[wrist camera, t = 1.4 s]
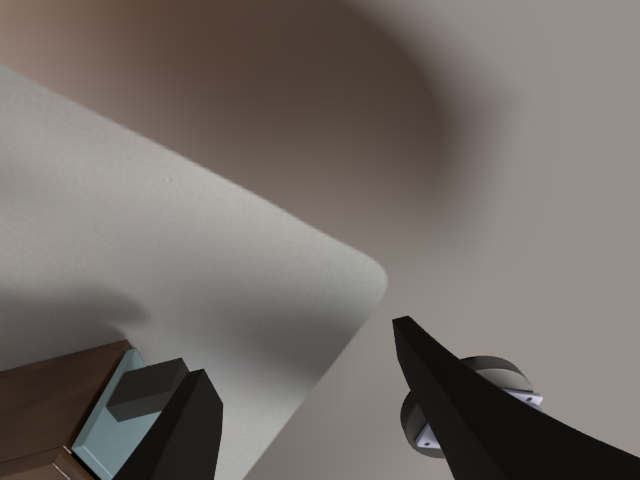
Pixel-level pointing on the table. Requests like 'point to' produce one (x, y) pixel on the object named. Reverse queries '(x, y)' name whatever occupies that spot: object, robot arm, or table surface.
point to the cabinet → (52, 413)
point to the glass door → (126, 412)
